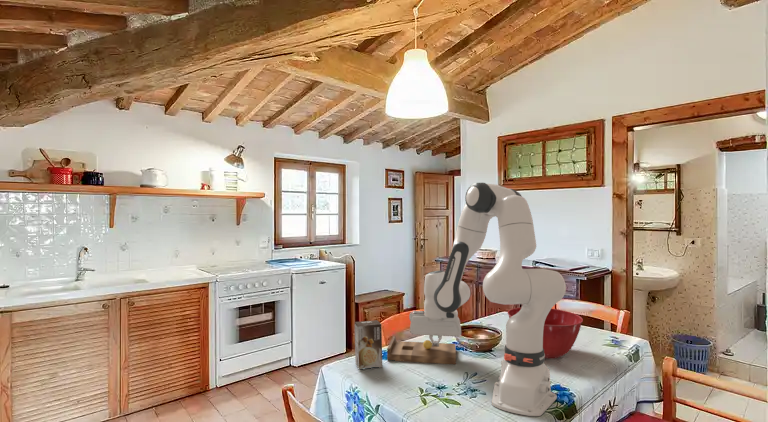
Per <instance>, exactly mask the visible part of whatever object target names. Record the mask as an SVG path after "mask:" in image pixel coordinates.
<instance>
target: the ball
mask: <svg viewBox="0 0 768 422" xmlns="http://www.w3.org/2000/svg"><path fill="white" fill-rule="evenodd" d="M423 346H424V348H425V349H430V348H431V347H432V342H431V340H430V339H425V340H424V343H423Z"/></svg>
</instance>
